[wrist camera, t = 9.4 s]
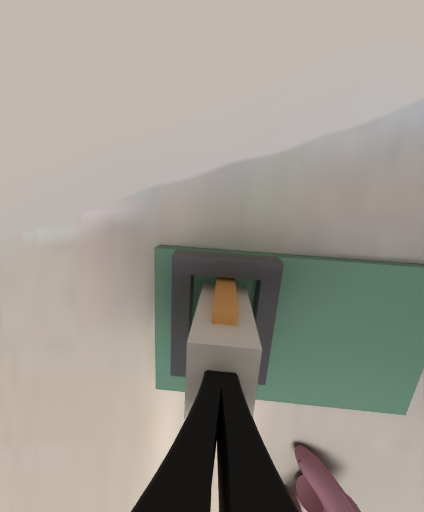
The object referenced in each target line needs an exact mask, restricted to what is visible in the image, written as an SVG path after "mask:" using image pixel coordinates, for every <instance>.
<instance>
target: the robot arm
mask: <svg viewBox="0 0 424 512" xmlns="http://www.w3.org/2000/svg"><path fill="white" fill-rule="evenodd" d="M216 441H217V459H218V490H219V512H299V510H298V509H297V507H296V505H295V503H294V502H293V500H292V498H291V496H290V494H289V492H288V491H287V489H286V487H285V485H284V483H283V481H282V479H281V478H280V476H279V474H278V472H277V470H276V468H275V466H274V464H273V462H272V460H271V458H270V456H269V453H268V451H267V449H266V447H265V445H264V443H263V441H262V439H261V436H260V434H259V432H258V430H257V427H256V425H255V422H254V420H253V418H252V415H251V413H250V410H249V408H248V405H247V402H246V400H245V397H244V394H243V391H242V388H241V385H240V381H239V377H238V375H237V374H236V373H233V372H222V371H212V370H206V371H205V372H204V376H203V379H202V382H201V385H200V388H199V391H198V393H197V396H196V398H195V401H194V403H193V405H192V407H191V409H190V411H189V414H188V416H187V418H186V420H185V422H184V424H183V426H182V428H181V430H180V432H179V433H178V435H177V437H176V439H175V441H174V443H173V445H172V447H171V448H170V450H169V452H168V454H167V455H166V457H165V459H164V460H163V462H162V464H161V465H160V467H159V469H158V470H157V472H156V474H155V475H154V477H153V479H152V480H151V482H150V483H149V485H148V486H147V488H146V489H145V491H144V493H143V494H142V496H141V497H140V499H139V500H138V502H137V503H136V505H135V506H134V508H133V509H132V511H131V512H210V507H211V485H212V476H213V468H214V459H215V450H216Z"/></svg>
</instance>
